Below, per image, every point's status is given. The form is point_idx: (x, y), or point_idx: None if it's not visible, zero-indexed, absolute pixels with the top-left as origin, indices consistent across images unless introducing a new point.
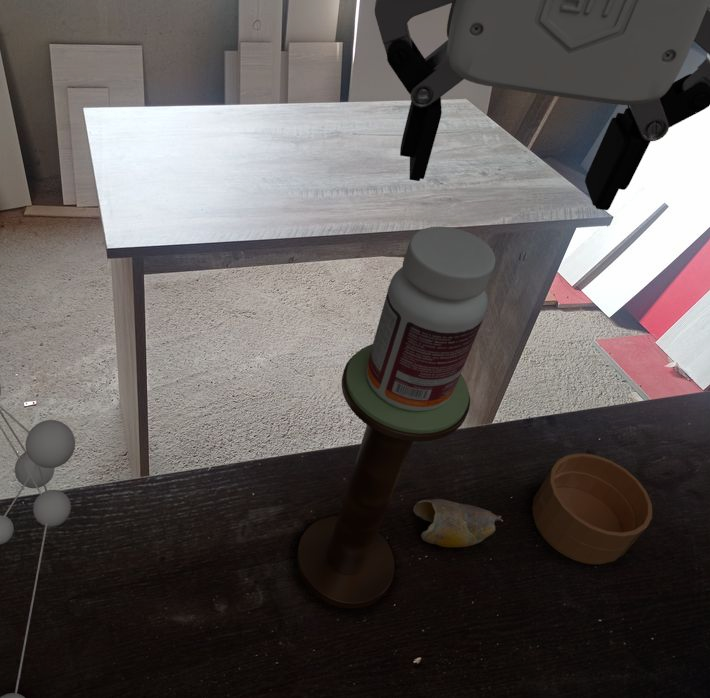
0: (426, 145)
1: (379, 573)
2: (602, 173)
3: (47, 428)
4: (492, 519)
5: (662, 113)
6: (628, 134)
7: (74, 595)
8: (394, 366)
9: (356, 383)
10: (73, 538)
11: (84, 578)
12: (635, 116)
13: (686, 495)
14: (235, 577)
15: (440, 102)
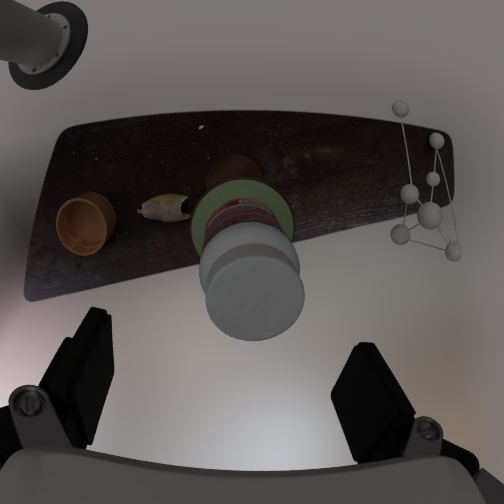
0: (385, 376)
1: (216, 174)
2: (100, 360)
3: (437, 219)
4: (143, 209)
5: (18, 425)
6: (69, 405)
7: (377, 165)
8: (275, 218)
9: (286, 227)
10: (379, 197)
11: (373, 174)
12: (61, 430)
13: (37, 242)
14: (298, 172)
15: (376, 441)
